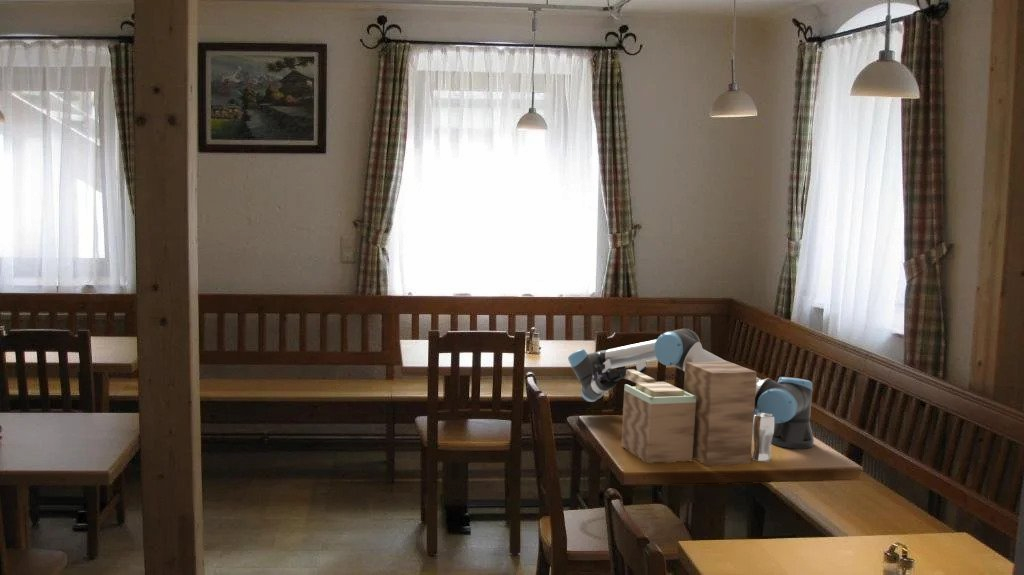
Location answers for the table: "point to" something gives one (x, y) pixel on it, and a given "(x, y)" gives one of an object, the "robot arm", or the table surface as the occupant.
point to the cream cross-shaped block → (652, 385)
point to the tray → (660, 400)
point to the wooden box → (658, 429)
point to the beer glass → (762, 436)
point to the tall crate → (722, 411)
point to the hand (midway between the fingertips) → (627, 362)
